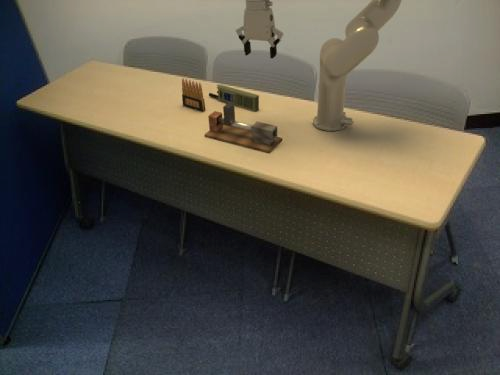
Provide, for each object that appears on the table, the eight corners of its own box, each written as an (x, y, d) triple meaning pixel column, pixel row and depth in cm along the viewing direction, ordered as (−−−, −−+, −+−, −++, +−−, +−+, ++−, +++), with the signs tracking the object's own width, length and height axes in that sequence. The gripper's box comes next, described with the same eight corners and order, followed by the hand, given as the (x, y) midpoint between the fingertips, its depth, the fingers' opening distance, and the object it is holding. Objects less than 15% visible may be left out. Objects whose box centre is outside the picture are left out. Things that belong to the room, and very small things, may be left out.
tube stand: (282, 140, 170) (282, 122, 166) (269, 153, 163) (269, 135, 159) (219, 125, 181) (217, 107, 177) (204, 136, 174) (203, 119, 170)
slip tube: (264, 131, 168) (263, 110, 163) (259, 136, 166) (259, 114, 161) (217, 120, 176) (215, 99, 171) (212, 124, 174) (210, 103, 169)
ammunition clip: (205, 110, 192) (203, 82, 185) (202, 112, 191) (200, 83, 184) (185, 104, 197) (182, 76, 190) (182, 105, 196) (179, 78, 189)
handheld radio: (255, 113, 189) (206, 98, 201) (259, 110, 191) (211, 95, 204) (255, 97, 185) (206, 83, 198) (260, 94, 188) (211, 81, 200)
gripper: (286, 2, 154) (287, 54, 164) (239, -1, 161) (243, 49, 171) (276, 9, 149) (278, 62, 158) (228, 6, 156) (233, 56, 166)
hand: (260, 55), depth 165 cm, fingers open, 9 cm apart
